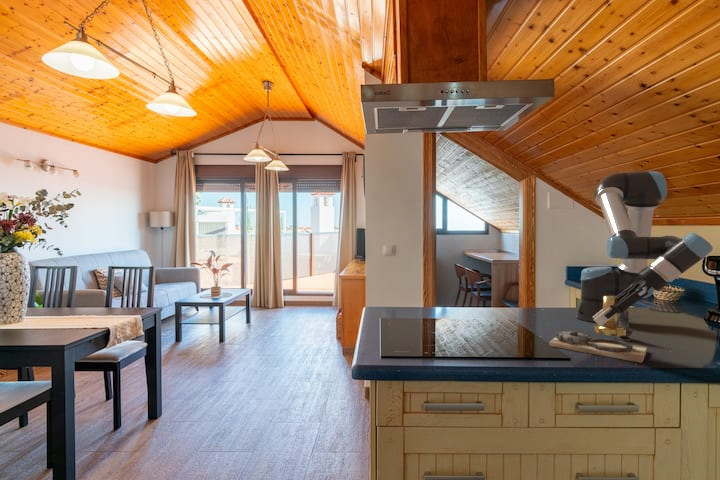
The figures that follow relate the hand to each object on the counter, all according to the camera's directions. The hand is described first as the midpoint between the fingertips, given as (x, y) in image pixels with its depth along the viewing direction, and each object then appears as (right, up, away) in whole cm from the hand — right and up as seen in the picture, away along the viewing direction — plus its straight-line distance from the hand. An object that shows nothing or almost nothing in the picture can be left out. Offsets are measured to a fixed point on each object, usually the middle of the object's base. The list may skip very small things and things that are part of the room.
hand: (596, 321), depth 130 cm
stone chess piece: (+18, -9, +13) cm, 24 cm away
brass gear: (+3, -3, -2) cm, 5 cm away
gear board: (+1, -9, +1) cm, 10 cm away
